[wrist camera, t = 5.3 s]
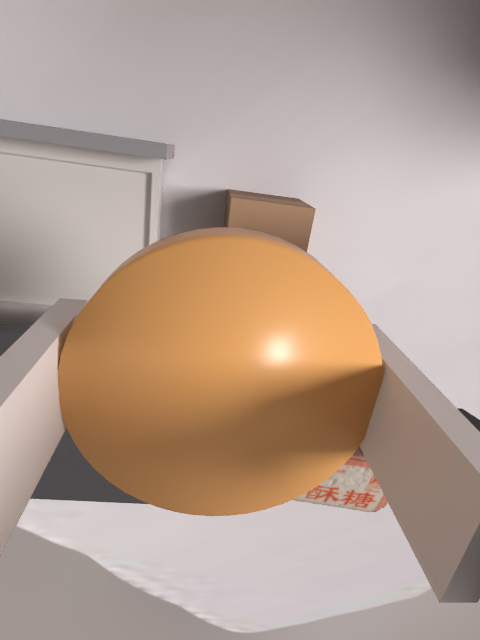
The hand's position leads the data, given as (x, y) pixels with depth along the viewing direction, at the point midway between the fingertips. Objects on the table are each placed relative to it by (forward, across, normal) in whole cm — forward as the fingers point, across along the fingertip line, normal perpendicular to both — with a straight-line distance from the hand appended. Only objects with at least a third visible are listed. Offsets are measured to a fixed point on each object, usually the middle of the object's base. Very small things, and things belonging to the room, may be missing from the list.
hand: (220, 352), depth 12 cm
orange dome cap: (-1, 0, 0) cm, 1 cm away
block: (+18, +3, +1) cm, 18 cm away
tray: (+18, -11, -1) cm, 21 cm away
